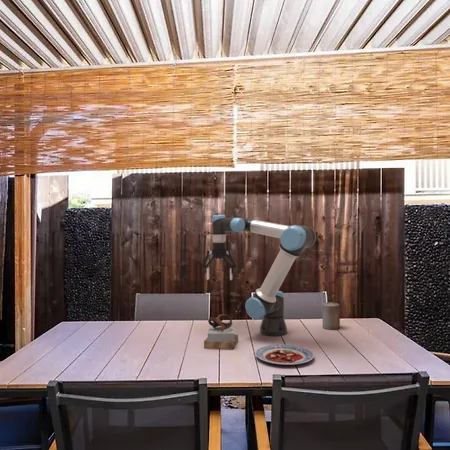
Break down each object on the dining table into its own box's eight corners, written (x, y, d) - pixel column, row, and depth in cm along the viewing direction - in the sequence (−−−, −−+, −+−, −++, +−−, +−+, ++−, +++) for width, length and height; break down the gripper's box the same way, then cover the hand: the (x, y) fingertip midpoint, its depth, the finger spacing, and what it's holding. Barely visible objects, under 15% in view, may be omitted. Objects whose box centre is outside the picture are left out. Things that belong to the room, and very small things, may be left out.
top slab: (234, 334, 199) (234, 326, 199) (234, 341, 186) (234, 333, 186) (209, 334, 199) (209, 326, 199) (207, 341, 186) (207, 333, 186)
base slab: (238, 342, 198) (238, 334, 198) (232, 351, 184) (232, 342, 184) (211, 340, 201) (211, 333, 201) (204, 349, 187) (204, 341, 187)
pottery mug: (229, 326, 199) (233, 314, 196) (229, 339, 191) (233, 327, 187) (206, 321, 198) (210, 309, 195) (205, 334, 190) (209, 321, 186)
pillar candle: (342, 327, 223) (341, 301, 223) (337, 331, 214) (336, 304, 215) (325, 324, 228) (325, 299, 228) (320, 328, 220) (319, 302, 220)
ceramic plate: (301, 373, 154) (301, 366, 154) (245, 362, 168) (245, 355, 168) (321, 354, 176) (321, 348, 176) (270, 346, 190) (270, 340, 190)
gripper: (242, 241, 220) (242, 279, 220) (200, 241, 226) (200, 278, 226) (239, 242, 212) (239, 280, 212) (196, 242, 219) (196, 279, 219)
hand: (219, 279), depth 219 cm, fingers open, 13 cm apart
